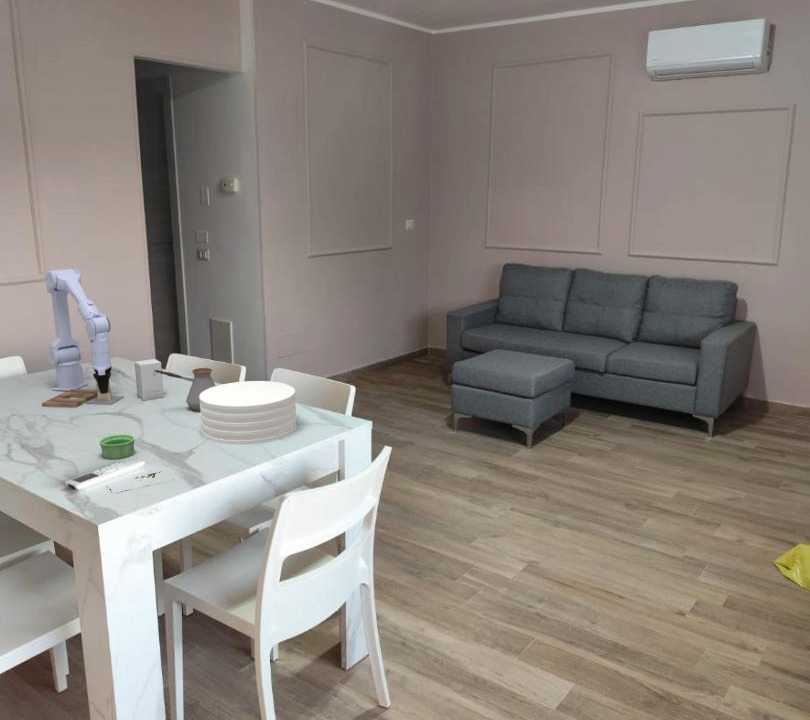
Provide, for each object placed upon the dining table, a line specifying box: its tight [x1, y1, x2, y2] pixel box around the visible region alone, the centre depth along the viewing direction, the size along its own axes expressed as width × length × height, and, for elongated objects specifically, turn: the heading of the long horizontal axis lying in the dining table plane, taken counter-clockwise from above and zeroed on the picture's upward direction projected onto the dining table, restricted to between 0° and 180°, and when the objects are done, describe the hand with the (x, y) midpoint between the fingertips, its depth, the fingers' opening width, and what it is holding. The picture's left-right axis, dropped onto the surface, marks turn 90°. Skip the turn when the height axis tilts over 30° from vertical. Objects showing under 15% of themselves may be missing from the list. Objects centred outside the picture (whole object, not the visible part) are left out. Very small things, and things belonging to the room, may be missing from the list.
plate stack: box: [199, 380, 297, 445], centre depth 222 cm, size 28×28×12 cm
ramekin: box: [99, 434, 136, 460], centre depth 201 cm, size 9×9×4 cm
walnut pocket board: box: [41, 388, 98, 408], centre depth 255 cm, size 18×12×1 cm, turn 173°
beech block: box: [96, 381, 112, 402], centre depth 253 cm, size 4×4×6 cm
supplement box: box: [134, 358, 165, 401], centre depth 256 cm, size 7×7×13 cm
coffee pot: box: [153, 367, 217, 412], centre depth 240 cm, size 21×12×15 cm, turn 122°
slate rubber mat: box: [85, 395, 125, 405], centre depth 254 cm, size 9×9×1 cm
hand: (104, 390), depth 253 cm, fingers open, 6 cm apart
